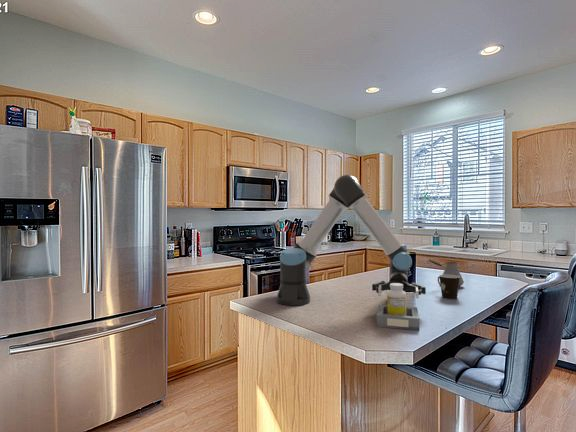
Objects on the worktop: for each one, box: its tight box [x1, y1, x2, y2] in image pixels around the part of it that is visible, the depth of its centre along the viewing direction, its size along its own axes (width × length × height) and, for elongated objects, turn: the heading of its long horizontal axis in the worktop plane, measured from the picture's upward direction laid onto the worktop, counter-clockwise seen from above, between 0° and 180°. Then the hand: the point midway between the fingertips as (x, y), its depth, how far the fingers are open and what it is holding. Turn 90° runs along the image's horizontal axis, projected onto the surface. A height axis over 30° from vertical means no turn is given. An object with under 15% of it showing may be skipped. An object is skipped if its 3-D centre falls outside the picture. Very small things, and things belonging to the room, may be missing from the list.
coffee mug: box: [437, 274, 460, 300], centre depth 159 cm, size 12×9×10 cm
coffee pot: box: [427, 259, 465, 288], centre depth 179 cm, size 21×12×15 cm, turn 109°
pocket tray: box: [376, 304, 420, 331], centre depth 123 cm, size 14×14×4 cm
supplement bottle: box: [386, 283, 407, 316], centre depth 123 cm, size 7×7×13 cm
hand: (398, 293), depth 127 cm, fingers open, 13 cm apart
